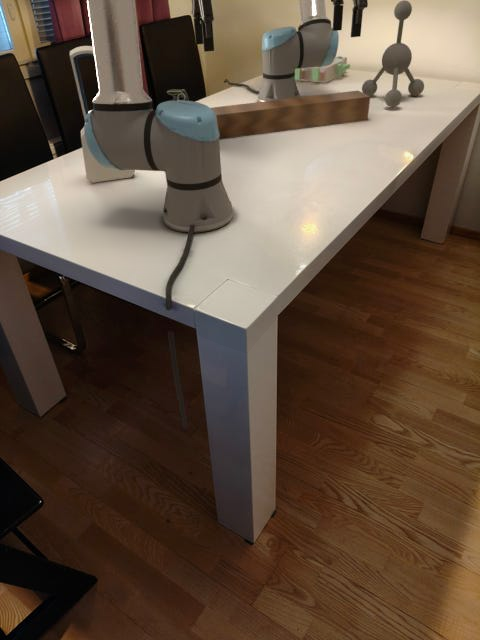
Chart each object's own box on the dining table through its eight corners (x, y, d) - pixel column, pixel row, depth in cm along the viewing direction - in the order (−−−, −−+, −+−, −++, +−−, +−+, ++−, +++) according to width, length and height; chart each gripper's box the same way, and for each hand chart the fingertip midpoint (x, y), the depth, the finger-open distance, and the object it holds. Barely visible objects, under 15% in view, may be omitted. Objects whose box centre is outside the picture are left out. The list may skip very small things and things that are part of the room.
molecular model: (443, 101, 169) (463, -1, 151) (390, 111, 164) (404, 5, 145) (402, 88, 187) (415, -6, 169) (352, 96, 181) (360, 0, 163)
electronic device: (87, 183, 126) (55, 53, 107) (87, 173, 131) (56, 48, 113) (136, 176, 128) (112, 47, 110) (133, 167, 134) (110, 43, 115)
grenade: (169, 124, 164) (164, 92, 158) (174, 119, 168) (171, 88, 162) (187, 125, 162) (184, 92, 156) (193, 120, 167) (189, 88, 161)
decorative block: (314, 53, 218) (356, 56, 208) (314, 69, 221) (354, 72, 212) (284, 64, 202) (328, 68, 192) (284, 81, 205) (327, 85, 196)
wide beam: (189, 142, 148) (186, 118, 144) (184, 134, 155) (182, 111, 151) (367, 120, 158) (370, 96, 154) (356, 112, 165) (358, 90, 160)
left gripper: (221, -48, 116) (227, 53, 129) (202, -47, 135) (209, 40, 148) (190, -46, 115) (199, 55, 128) (176, -46, 134) (185, 42, 147)
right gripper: (387, -58, 123) (376, 38, 136) (347, -58, 142) (341, 26, 155) (359, -56, 122) (351, 40, 135) (322, -56, 141) (318, 29, 154)
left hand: (204, 47), depth 138 cm, fingers open, 13 cm apart
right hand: (345, 33), depth 145 cm, fingers open, 13 cm apart
